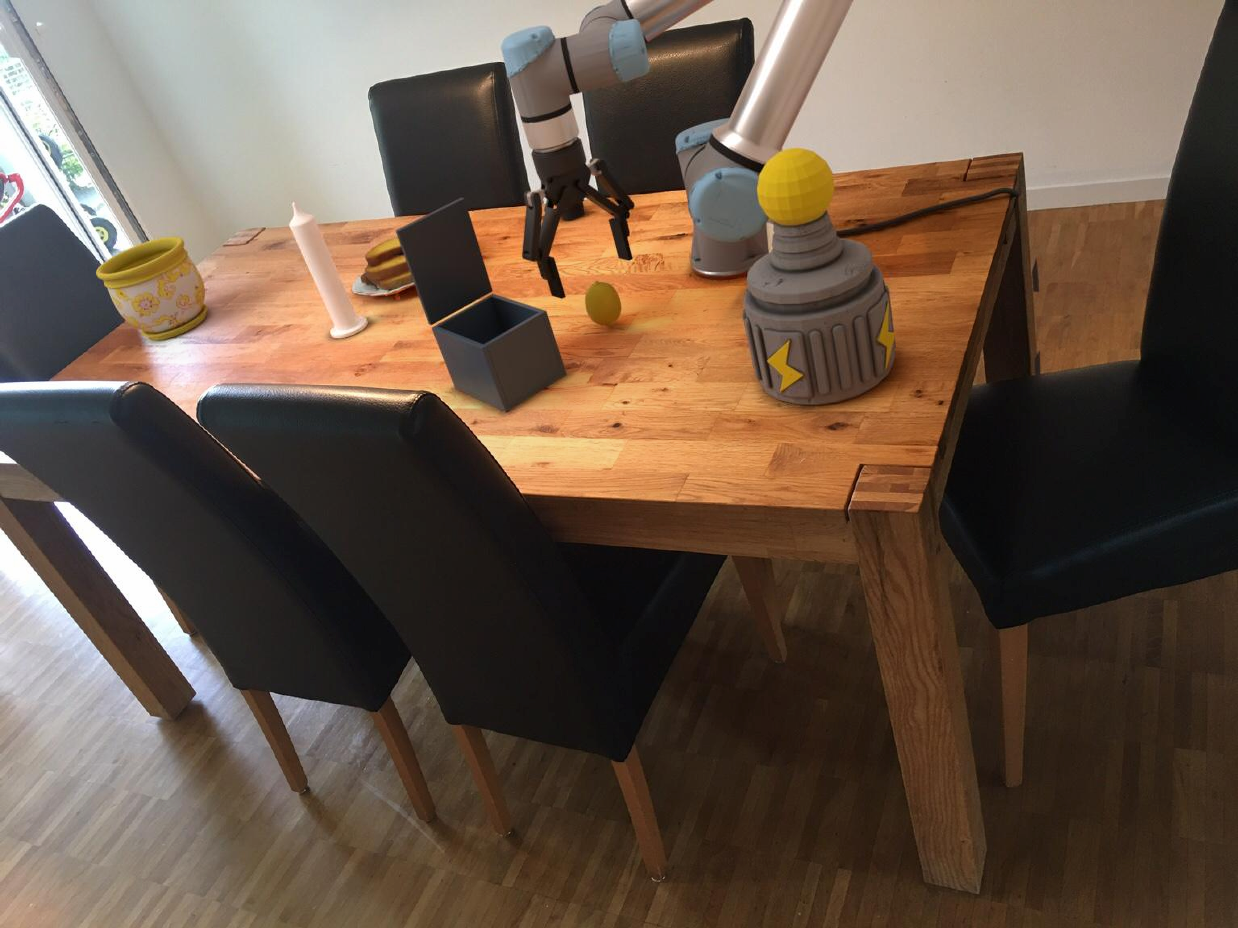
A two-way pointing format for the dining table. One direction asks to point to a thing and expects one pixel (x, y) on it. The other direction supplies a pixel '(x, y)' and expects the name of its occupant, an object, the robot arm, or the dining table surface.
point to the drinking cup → (574, 212)
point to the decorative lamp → (814, 294)
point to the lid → (445, 260)
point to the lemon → (602, 304)
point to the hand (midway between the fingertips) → (592, 277)
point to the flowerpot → (156, 288)
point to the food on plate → (384, 271)
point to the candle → (325, 275)
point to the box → (500, 351)
